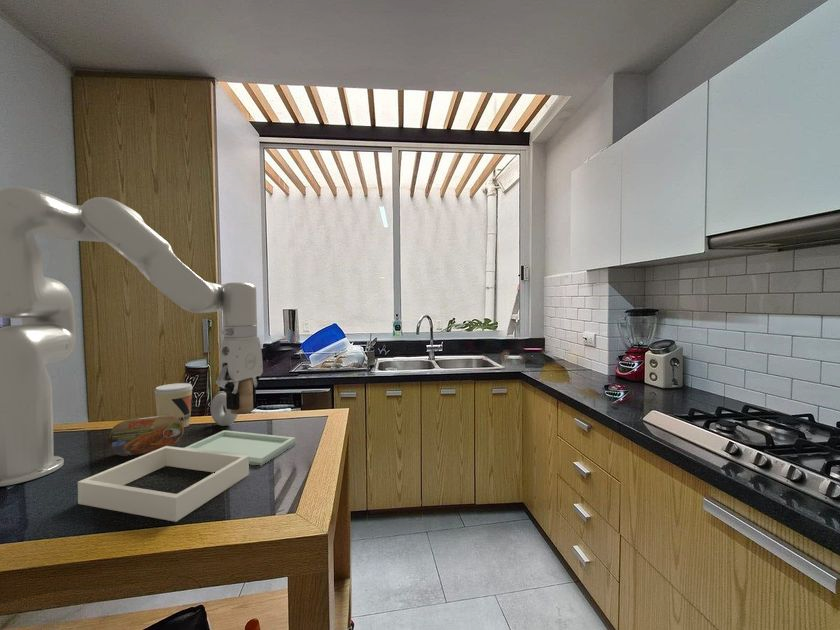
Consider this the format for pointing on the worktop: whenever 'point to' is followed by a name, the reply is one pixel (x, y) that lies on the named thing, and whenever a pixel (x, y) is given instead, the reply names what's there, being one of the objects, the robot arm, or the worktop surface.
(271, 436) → the tray
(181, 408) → the coffee cup
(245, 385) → the wooden cylinder
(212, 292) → the robot arm
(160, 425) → the tin
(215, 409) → the donut
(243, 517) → the worktop surface
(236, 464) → the white rectangular frame
